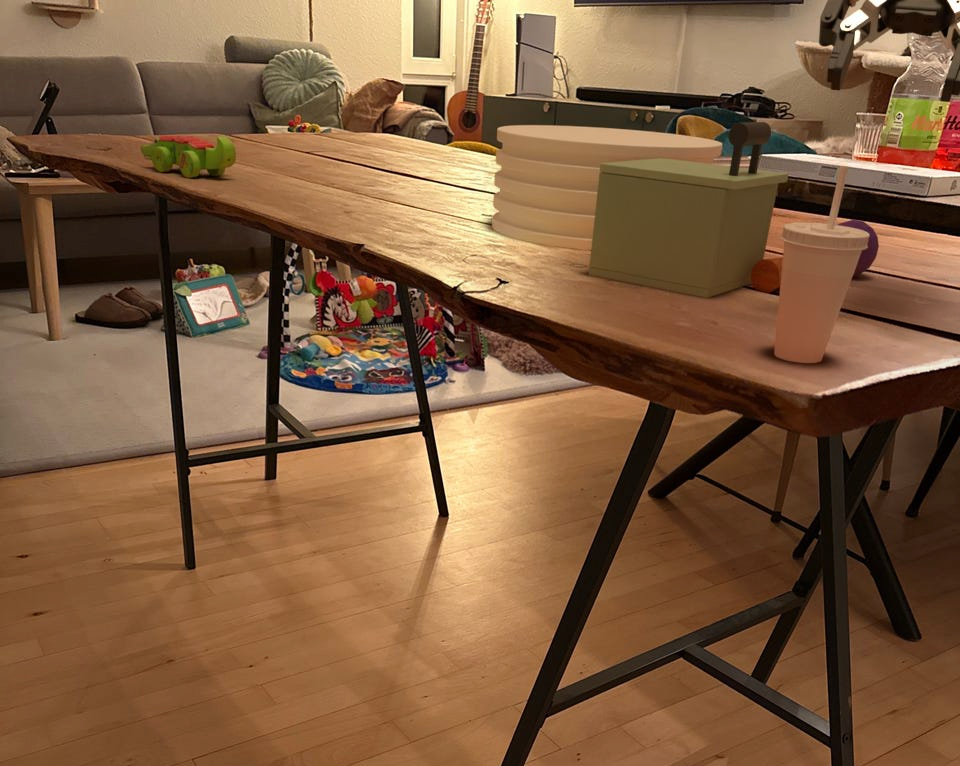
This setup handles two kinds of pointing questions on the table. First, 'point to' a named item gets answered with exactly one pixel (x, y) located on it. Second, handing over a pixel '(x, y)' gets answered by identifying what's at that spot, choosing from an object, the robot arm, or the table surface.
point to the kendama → (770, 270)
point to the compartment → (679, 233)
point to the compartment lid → (709, 173)
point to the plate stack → (571, 176)
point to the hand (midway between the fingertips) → (890, 88)
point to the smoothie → (815, 281)
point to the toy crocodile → (190, 155)
